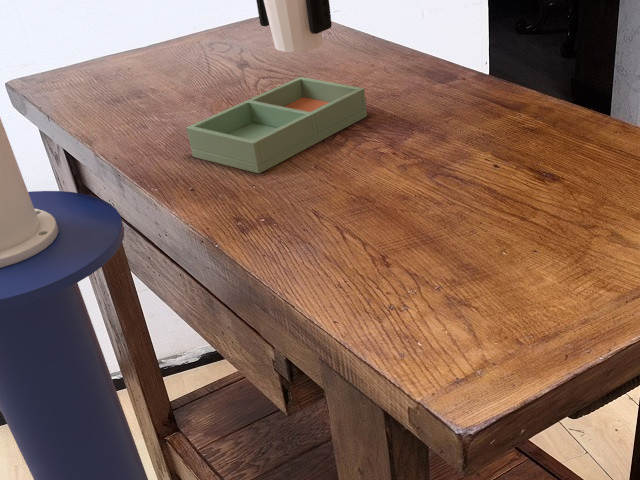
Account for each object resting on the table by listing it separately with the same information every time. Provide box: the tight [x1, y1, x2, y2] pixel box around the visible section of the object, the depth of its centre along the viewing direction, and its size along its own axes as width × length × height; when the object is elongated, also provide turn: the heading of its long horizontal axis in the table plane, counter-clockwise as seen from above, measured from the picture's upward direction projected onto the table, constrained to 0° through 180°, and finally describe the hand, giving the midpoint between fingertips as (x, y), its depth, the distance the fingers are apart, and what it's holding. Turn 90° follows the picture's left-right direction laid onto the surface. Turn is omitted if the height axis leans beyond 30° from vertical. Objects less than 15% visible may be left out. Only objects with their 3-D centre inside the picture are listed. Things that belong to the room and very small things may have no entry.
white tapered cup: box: [264, 0, 323, 53], centre depth 96 cm, size 7×7×7 cm
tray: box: [185, 76, 368, 174], centre depth 100 cm, size 20×10×4 cm, turn 147°
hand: (295, 25), depth 97 cm, fingers closed on white tapered cup, 6 cm apart
